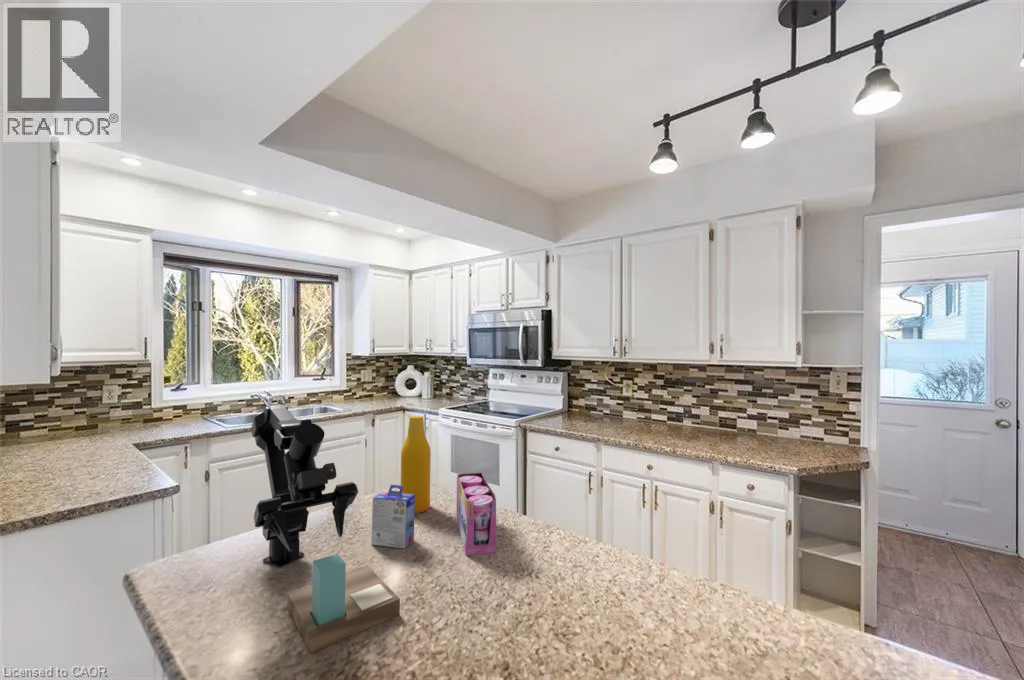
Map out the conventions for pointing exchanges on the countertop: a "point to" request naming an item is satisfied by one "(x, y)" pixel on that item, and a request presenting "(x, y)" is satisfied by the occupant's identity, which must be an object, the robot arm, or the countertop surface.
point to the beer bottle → (416, 464)
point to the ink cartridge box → (393, 518)
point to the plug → (328, 589)
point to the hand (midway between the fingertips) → (316, 543)
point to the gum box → (476, 514)
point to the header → (363, 609)
